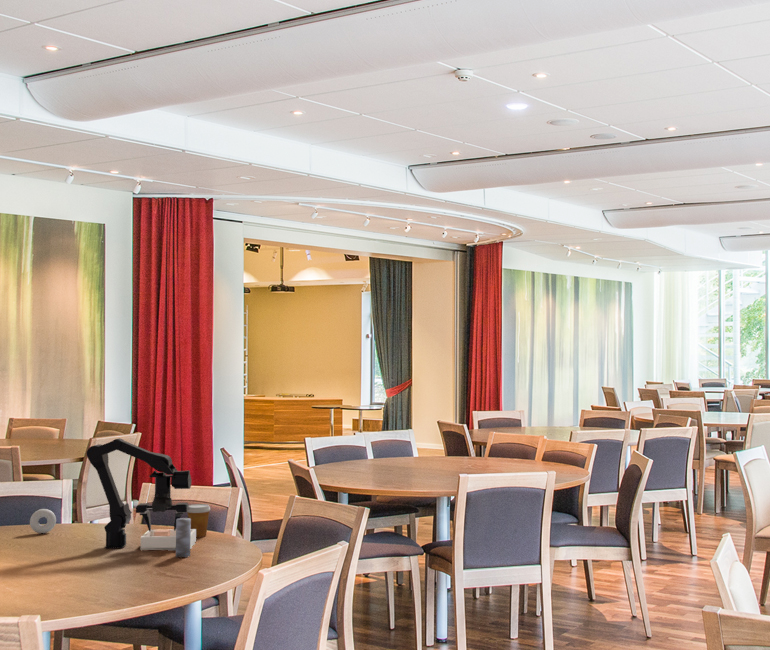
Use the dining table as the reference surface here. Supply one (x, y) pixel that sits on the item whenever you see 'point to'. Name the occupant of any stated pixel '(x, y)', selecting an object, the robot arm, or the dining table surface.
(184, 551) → the slate peg
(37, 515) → the donut
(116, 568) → the dining table surface
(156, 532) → the terracotta cube
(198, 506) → the disposable coffee cup
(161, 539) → the tote
